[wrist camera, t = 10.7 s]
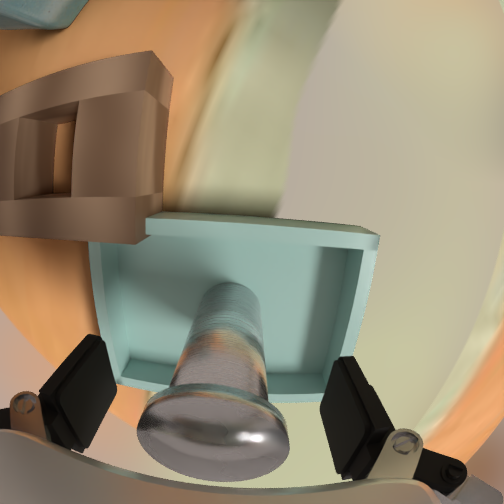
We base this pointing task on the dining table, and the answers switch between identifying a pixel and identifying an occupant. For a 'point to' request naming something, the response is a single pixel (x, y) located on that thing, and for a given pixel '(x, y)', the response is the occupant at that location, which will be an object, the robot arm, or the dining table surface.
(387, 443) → the robot arm
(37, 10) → the flower pot
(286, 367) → the tray
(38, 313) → the dining table surface
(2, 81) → the dining table surface
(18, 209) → the socket block
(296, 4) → the dining table surface
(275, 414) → the pin
